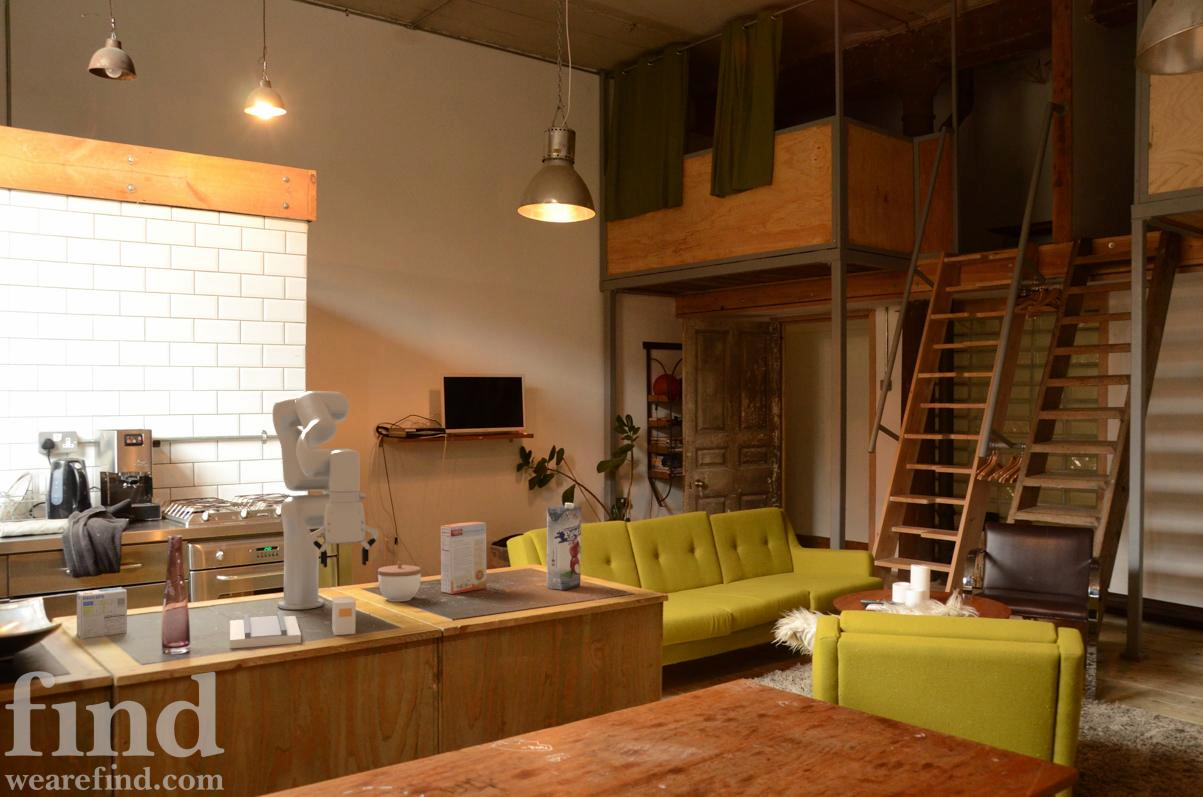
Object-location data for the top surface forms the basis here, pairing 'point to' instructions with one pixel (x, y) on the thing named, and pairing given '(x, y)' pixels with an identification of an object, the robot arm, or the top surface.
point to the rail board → (264, 631)
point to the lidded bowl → (399, 581)
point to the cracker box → (463, 557)
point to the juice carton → (563, 547)
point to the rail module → (343, 615)
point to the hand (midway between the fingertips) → (344, 565)
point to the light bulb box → (101, 612)
